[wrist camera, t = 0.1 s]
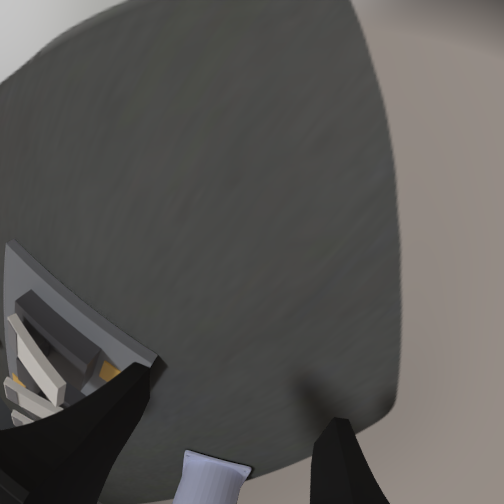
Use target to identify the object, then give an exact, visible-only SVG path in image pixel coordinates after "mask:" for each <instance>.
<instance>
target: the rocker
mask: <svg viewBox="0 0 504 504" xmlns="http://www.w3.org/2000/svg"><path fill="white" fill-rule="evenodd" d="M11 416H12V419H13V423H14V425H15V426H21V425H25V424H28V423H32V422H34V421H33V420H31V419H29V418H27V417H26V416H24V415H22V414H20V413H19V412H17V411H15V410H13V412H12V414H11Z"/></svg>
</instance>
